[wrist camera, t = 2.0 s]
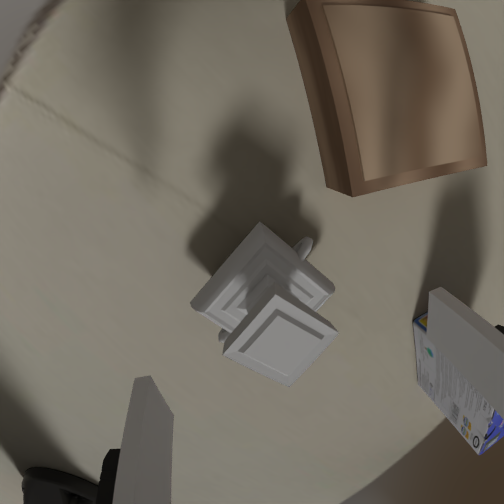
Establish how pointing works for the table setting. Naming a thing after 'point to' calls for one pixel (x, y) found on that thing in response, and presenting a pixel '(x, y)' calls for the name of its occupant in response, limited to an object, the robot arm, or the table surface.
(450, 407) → the ink cartridge box
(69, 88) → the table surface
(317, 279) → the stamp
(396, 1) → the plinth
